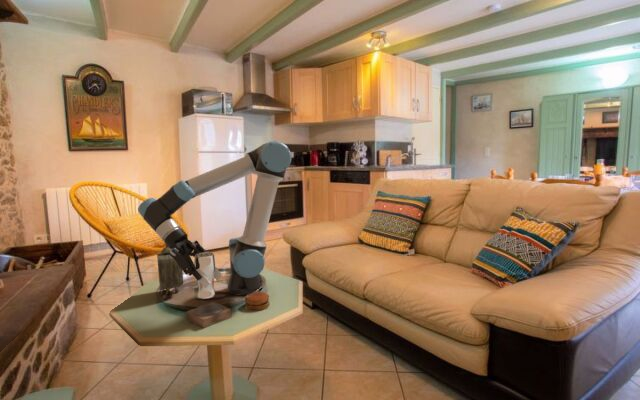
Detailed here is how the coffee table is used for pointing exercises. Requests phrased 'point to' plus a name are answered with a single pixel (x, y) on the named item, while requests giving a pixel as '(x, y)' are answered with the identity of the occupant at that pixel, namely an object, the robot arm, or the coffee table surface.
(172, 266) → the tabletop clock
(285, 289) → the coffee table surface
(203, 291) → the silver metal cup
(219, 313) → the walnut plinth
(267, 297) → the burger
